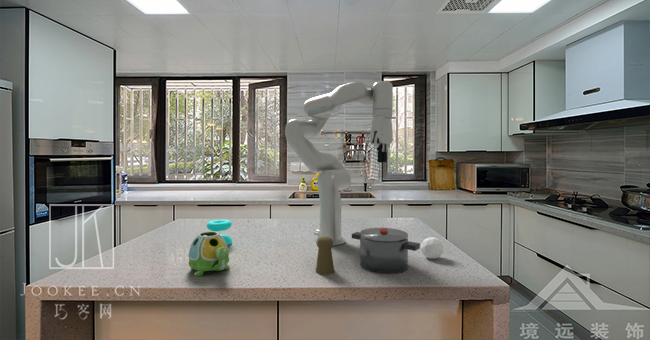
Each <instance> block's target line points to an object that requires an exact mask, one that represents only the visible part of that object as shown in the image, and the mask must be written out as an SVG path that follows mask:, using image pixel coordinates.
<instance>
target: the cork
mask: <svg viewBox="0 0 650 340" xmlns="http://www.w3.org/2000/svg"><path fill="white" fill-rule="evenodd" d="M317 238H318V237H317ZM332 245H333V240H332V239H331V238H330V237H320V238H318V240H317V242H316V246H317V248H318V251H317V258H316V267H315V272H316V274H319V275H322V276H323V275H324V276H325V275H332V274H334V272H335V267H334V266H335V265H334V259H333V251H332V247H333V246H332Z"/></svg>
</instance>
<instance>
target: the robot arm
mask: <svg viewBox="0 0 650 340" xmlns="http://www.w3.org/2000/svg"><path fill="white" fill-rule="evenodd" d="M393 88H394V87H393V83H392V82H390V81H388V80H381V81H376V82H374V83H373V84H372V85H371V84H368V83H366V82H363V81H352V82H348V83H344V84H342V85H339V86H337V87H336V88H335V89H334V90H333V91H331V92H328V93H324V94H322V95H318V96H314V97H311V98H309V99H307V100H306V101H305V102H304V103H303V107H302V109H303V111H304V113H305V115H307V116H308V117H310V118H309V119H304V118H293V119H290V120H289V121H288V122H287V123H286V125H285V129H284V131H285V132H284V133H285V134H284V135H285V139H286V142H287V144H288V145H289V146H290V148H291V149H292V150H293V151H294V152H295V154H296V155H297V156H298V158H300V160H301V161H302V163H303V164H304V166H305V167H306V168H307V169H308V171H310V172H311V173H313V174H318V177H317V180H316V183H317V190H318V199H319V201H318V202H319V229H316V230H315V231H313V235H314V236H317V238H316V239H315V242H316V243H317V240H318V238H320V237H330V238H331V239H332V240H333V245H332V247H333V246H334V247H335V246H340V245H343V244H344V243H346V239H345V238H344V237H342V197H341V194H340V191H343V190H347V189H348V188H349V187H350V185H351V183H352V177H351V174H350V173H349V171H348V169H346V168H345V166H344V165H343V164H342V162H340V160H339V159H338V158H337V157H336V156H335V155H333V154H331V153H330V152H321V151H320V150H318V149H317V147H316V146H314V144H313V143H312V142H311V141H310V140H309V139H314V138H315V137H317V136H318V135H319V134H320V132H321V131H322V129H323V128H324V127H325V125H326V124H327V122H328V120H329V118H330V117H331V115H332V114H334V113H335V114H336V113H338V112H339V111H340V110H341V108H342V105H345V104H349V103H354V102H356V103H360V104H363V105H368V106H369V105H372V118H371V123H370V134H369V135H370V137H369V141H370V143H371V144H372V145H373V146H374V147H375V148H376V152H377V163H387V161H388V149H389V148H390V147H391V144H392V143H393V139H394V137H393V104H394V103H393V100H394V99H393V96H394V95H393V93H394V92H393Z"/></svg>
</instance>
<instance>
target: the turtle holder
mask: <svg viewBox="0 0 650 340" xmlns="http://www.w3.org/2000/svg"><path fill="white" fill-rule="evenodd" d="M220 235H221V234H220V233H219V231H211V230H209V231H204V232H199V233H198V234H197V236H195V238H194V239H193V240H192V242H191V244H190V247H189V249H188V250H189V251H188V255H187V256H188V257H187V258H188V266H189V268H190V269H191V268H192V269H191V270H193V269H194V270H195V272H194V274H193V276H195V277H201V275H202V276H203V274H204V273H205V272H209V271H210V272H211V271H223V270H226V269H227V270H230V268H231V265H229V261H230V250H229V245H227V243H226V241H225V240H224V238H223V237H222V236H220ZM227 270H226V271H227Z"/></svg>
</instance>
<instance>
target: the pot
mask: <svg viewBox="0 0 650 340" xmlns="http://www.w3.org/2000/svg"><path fill="white" fill-rule="evenodd" d="M360 232H361V231H356V232H353V233H351V239H355V240H359V266H360V268H361V269H363V270H366V271H368V272H370V273H375V274H382V275H395V274H401V273H404V272H406V271H407V270H408V268H409V266H408V265H409V257H408V256H409V251H414V252H416V251H417V250H421V243H420V242H415V241H409V238H408V239H407V240H404V241H400V242H375V241H370V240H366V239H364V238H362V237H361V236H360Z"/></svg>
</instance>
